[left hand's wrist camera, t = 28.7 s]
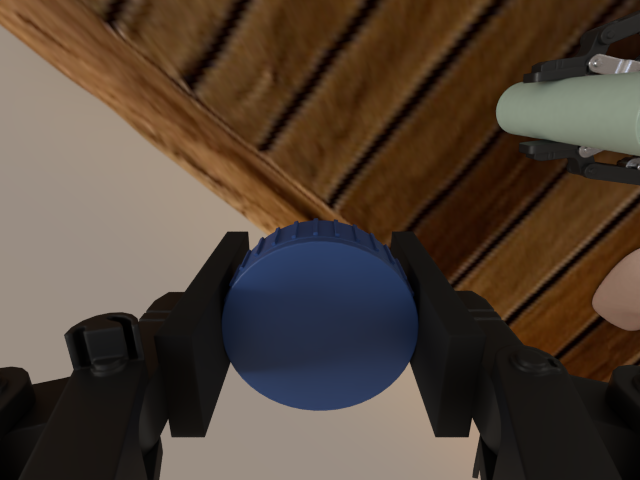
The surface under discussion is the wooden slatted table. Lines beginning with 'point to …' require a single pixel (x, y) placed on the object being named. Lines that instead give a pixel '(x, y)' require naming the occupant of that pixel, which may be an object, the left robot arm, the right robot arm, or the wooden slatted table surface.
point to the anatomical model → (621, 294)
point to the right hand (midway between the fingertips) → (526, 114)
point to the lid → (319, 316)
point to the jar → (577, 111)
